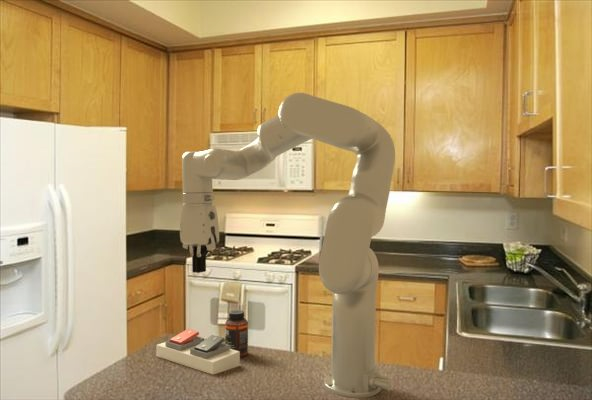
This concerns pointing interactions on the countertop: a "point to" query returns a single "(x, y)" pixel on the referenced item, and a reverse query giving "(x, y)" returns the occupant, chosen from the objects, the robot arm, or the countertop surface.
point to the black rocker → (210, 344)
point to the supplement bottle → (237, 332)
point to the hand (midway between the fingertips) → (199, 271)
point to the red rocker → (184, 337)
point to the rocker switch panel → (200, 356)
